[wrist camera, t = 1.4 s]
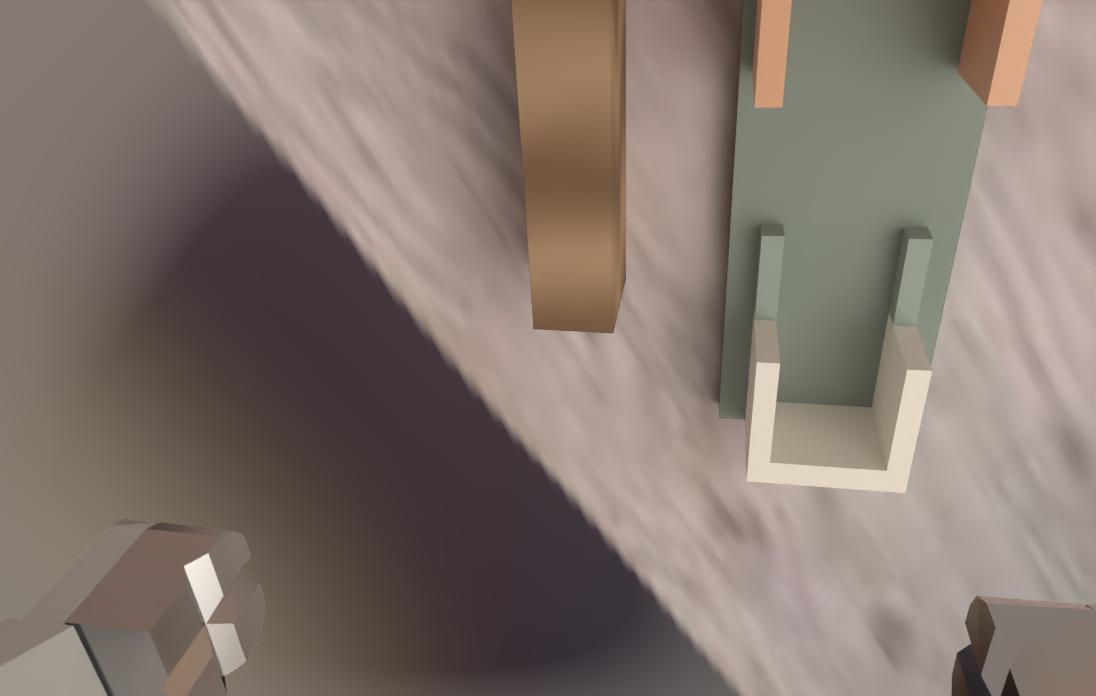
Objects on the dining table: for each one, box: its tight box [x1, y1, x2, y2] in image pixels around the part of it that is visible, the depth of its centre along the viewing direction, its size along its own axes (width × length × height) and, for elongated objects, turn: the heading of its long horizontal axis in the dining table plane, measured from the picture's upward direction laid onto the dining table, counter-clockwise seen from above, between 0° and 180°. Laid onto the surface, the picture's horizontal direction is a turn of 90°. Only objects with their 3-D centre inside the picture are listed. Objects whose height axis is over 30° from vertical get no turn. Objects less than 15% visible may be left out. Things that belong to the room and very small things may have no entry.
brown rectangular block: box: [511, 0, 626, 333], centre depth 30 cm, size 12×3×4 cm, turn 3°
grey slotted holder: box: [719, 0, 988, 493], centre depth 29 cm, size 20×8×5 cm, turn 3°
